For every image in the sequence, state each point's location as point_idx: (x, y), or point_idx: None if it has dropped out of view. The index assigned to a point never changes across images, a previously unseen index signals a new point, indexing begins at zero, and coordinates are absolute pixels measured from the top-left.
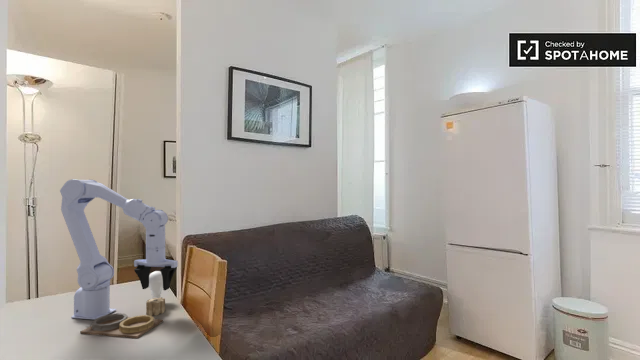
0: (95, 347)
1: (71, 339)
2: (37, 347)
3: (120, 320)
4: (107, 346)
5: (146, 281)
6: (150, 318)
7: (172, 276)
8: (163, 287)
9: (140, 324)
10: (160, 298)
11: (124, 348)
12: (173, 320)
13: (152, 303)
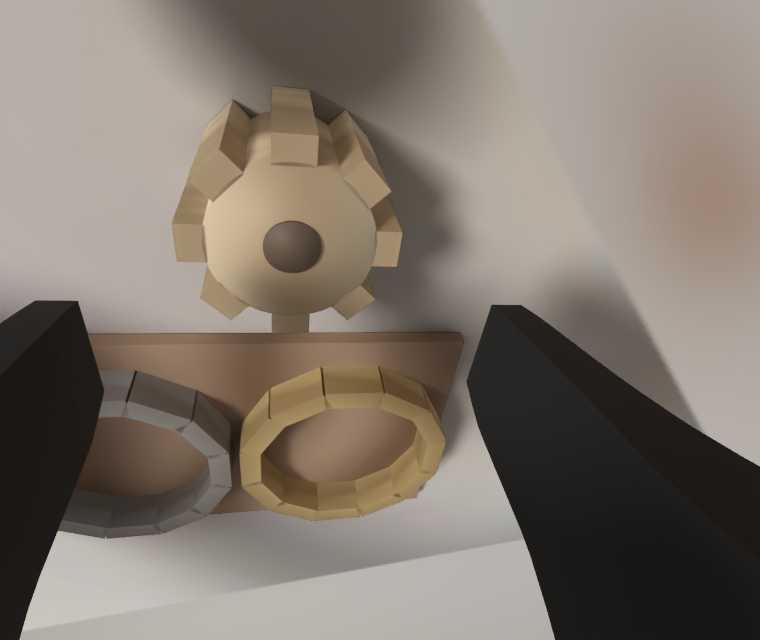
0: (281, 556)
1: (78, 549)
2: None
3: (218, 476)
4: (327, 543)
5: (27, 443)
6: (407, 416)
7: (713, 448)
8: (487, 427)
9: (345, 416)
10: (315, 178)
11: (410, 537)
12: (526, 306)
13: (308, 313)
